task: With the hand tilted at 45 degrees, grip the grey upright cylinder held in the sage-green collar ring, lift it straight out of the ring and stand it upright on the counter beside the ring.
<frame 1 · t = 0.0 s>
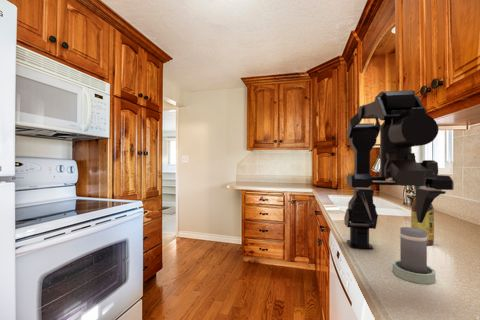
hand: (395, 221, 52), 15 cm above the countertop, tool pointing down, fingers open, 9 cm apart
collar ring: (413, 275, 58), on the countertop
grey upright cylinder: (413, 252, 58), in the collar ring
sauce bottle: (422, 243, 83), on the countertop
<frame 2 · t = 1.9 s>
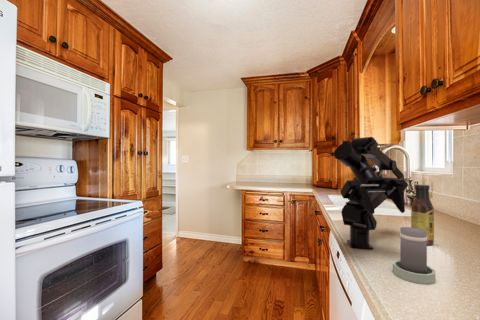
hand: (388, 212, 66), 13 cm above the countertop, tool tilted 45°, fingers open, 9 cm apart
nothing on the countertop moved.
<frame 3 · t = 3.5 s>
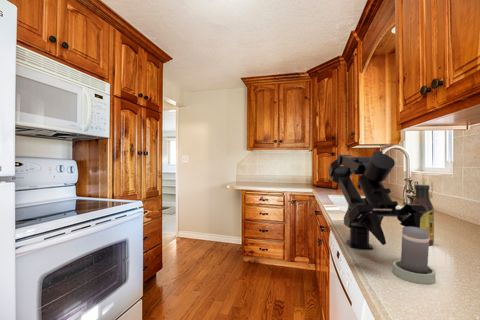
hand: (401, 244, 59), 7 cm above the countertop, tool tilted 40°, fingers open, 9 cm apart
grey upright cylinder: (414, 252, 58), in the collar ring, tilted 6°
everything else where it was.
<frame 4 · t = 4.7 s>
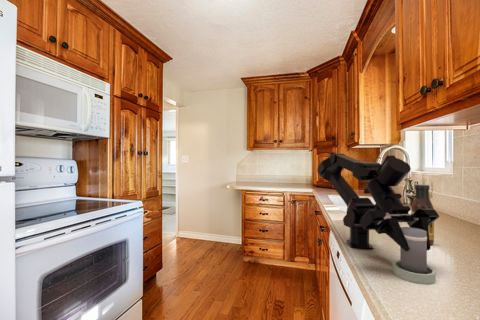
hand: (418, 250, 57), 7 cm above the countertop, tool tilted 45°, fingers closed on grey upright cylinder, 5 cm apart
grey upright cylinder: (413, 252, 58), in the collar ring, touching gripper
everything else where it was.
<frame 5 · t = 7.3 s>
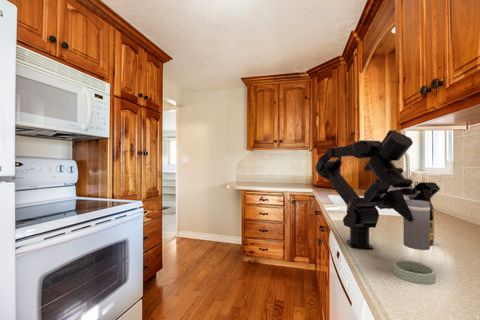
hand: (421, 220, 58), 13 cm above the countertop, tool tilted 45°, fingers closed on grey upright cylinder, 5 cm apart
grey upright cylinder: (416, 223, 59), point 12 cm above the countertop, touching gripper
everything else where it was.
when the fingers open (7 cm above the countertop, at t = 9.9 s): grey upright cylinder stays where it is, on the countertop.
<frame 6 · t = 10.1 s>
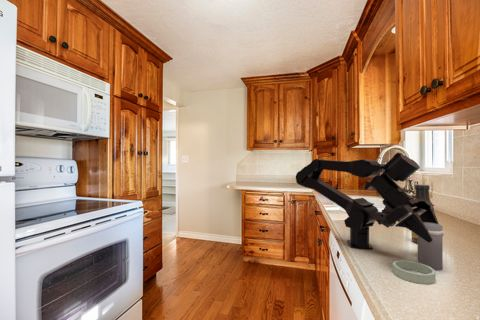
hand: (436, 238, 63), 8 cm above the countertop, tool tilted 45°, fingers open, 8 cm apart
grey upright cylinder: (429, 245, 64), on the countertop
everything else where it was.
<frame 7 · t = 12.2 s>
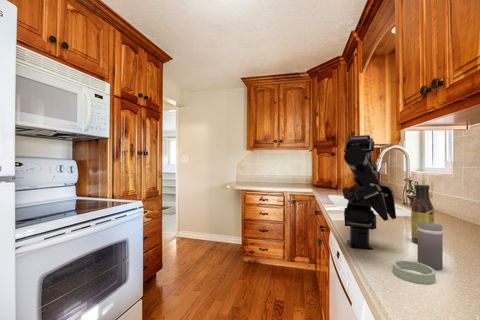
hand: (390, 219, 69), 11 cm above the countertop, tool tilted 30°, fingers open, 9 cm apart
nothing on the countertop moved.
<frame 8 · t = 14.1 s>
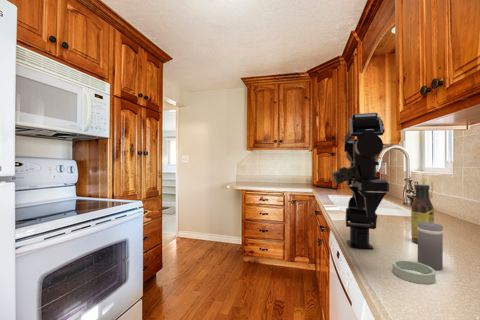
hand: (364, 213, 67), 13 cm above the countertop, tool pointing down, fingers open, 9 cm apart
nothing on the countertop moved.
at the end: grey upright cylinder 0.1 cm from the target spot, on the countertop; grey upright cylinder tilted 0°; the gripper is holding nothing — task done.
